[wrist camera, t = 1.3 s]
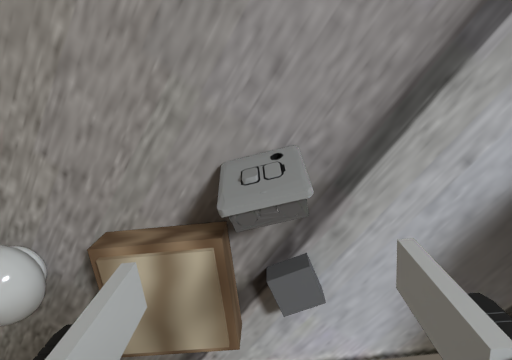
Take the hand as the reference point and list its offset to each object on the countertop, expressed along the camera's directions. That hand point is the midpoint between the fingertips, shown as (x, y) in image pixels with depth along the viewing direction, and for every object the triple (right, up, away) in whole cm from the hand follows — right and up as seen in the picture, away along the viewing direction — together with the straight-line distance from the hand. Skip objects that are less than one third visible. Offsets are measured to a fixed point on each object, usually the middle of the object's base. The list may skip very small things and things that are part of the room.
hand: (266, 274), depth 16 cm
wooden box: (-10, -7, +22) cm, 25 cm away
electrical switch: (+1, +5, +18) cm, 19 cm away
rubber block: (+4, -7, +22) cm, 23 cm away
